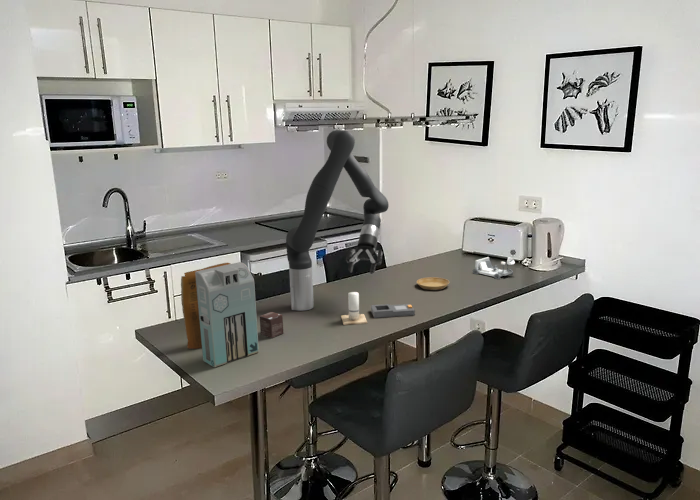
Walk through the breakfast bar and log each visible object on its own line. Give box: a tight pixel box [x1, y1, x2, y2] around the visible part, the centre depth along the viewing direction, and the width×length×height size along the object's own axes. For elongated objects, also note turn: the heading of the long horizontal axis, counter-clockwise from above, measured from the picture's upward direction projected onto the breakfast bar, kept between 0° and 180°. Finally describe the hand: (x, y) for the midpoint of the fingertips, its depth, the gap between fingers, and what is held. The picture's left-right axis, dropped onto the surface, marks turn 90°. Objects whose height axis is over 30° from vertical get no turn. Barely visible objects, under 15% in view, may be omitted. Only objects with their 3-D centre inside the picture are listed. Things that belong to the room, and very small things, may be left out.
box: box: [259, 311, 284, 339], centre depth 202 cm, size 6×6×7 cm
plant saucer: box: [416, 276, 450, 291], centre depth 255 cm, size 15×15×3 cm
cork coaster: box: [340, 313, 368, 326], centre depth 215 cm, size 9×9×1 cm
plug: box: [347, 291, 360, 320], centre depth 213 cm, size 4×4×10 cm
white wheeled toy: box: [472, 256, 516, 280], centre depth 271 cm, size 18×10×12 cm
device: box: [195, 261, 260, 368], centre depth 180 cm, size 16×8×30 cm, turn 133°
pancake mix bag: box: [180, 262, 232, 350], centre depth 192 cm, size 7×19×28 cm, turn 127°
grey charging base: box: [370, 303, 416, 319], centre depth 221 cm, size 16×8×3 cm, turn 97°
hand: (360, 272), depth 220 cm, fingers open, 8 cm apart
